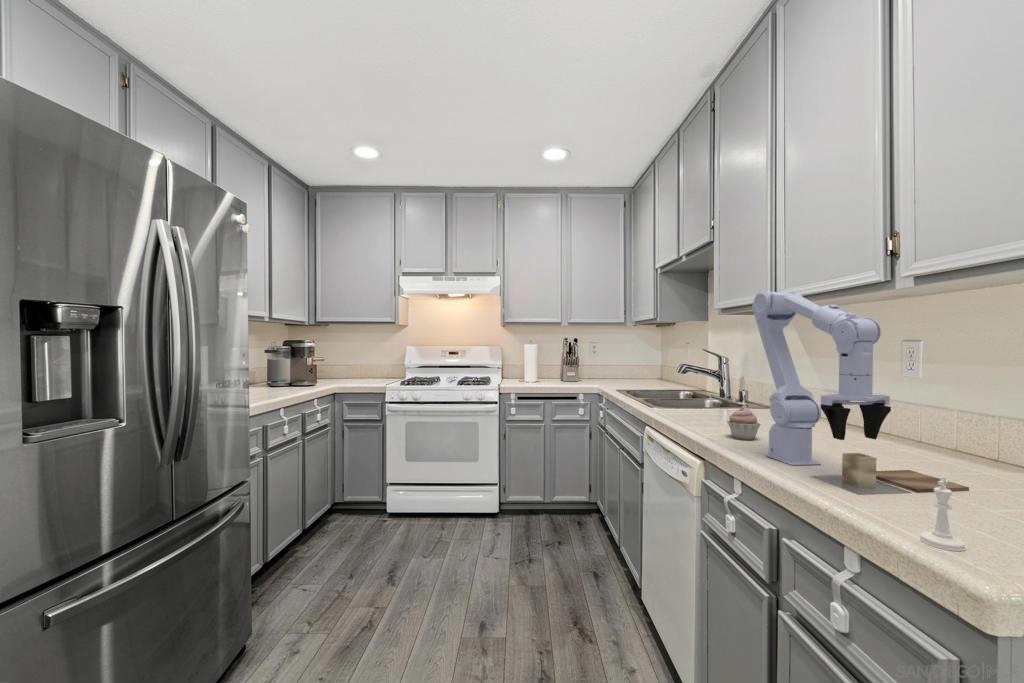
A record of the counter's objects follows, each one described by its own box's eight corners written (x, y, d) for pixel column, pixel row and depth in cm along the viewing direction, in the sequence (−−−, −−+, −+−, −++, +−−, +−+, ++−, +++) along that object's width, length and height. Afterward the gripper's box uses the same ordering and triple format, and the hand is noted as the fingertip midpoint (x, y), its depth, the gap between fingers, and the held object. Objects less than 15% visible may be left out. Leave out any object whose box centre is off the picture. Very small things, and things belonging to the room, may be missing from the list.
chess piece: (912, 539, 68) (913, 473, 68) (931, 534, 70) (932, 470, 70) (953, 553, 64) (954, 483, 64) (973, 548, 66) (974, 480, 66)
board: (862, 475, 101) (862, 471, 101) (909, 473, 103) (909, 470, 103) (917, 493, 89) (917, 489, 89) (968, 491, 91) (969, 487, 91)
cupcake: (721, 434, 143) (721, 403, 143) (751, 435, 143) (751, 404, 143) (734, 441, 134) (735, 408, 134) (766, 441, 134) (766, 408, 134)
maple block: (842, 481, 96) (842, 453, 96) (858, 480, 97) (859, 452, 96) (858, 487, 92) (859, 458, 92) (875, 486, 93) (876, 457, 93)
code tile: (810, 476, 99) (810, 476, 99) (858, 475, 101) (858, 474, 101) (858, 495, 88) (858, 494, 88) (912, 493, 89) (912, 492, 89)
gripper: (840, 376, 90) (840, 443, 90) (904, 376, 92) (903, 442, 92) (813, 373, 97) (812, 436, 97) (872, 373, 99) (871, 435, 99)
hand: (854, 438), depth 95 cm, fingers open, 7 cm apart
